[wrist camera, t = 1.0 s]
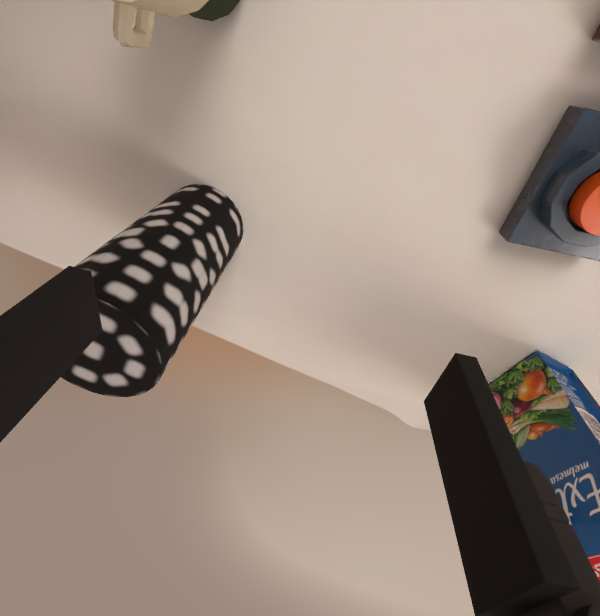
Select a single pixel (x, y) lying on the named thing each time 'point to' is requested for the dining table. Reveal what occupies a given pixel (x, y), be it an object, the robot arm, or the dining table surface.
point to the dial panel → (597, 35)
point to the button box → (559, 189)
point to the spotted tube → (154, 288)
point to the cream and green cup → (198, 3)
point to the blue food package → (557, 438)
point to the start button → (587, 205)
